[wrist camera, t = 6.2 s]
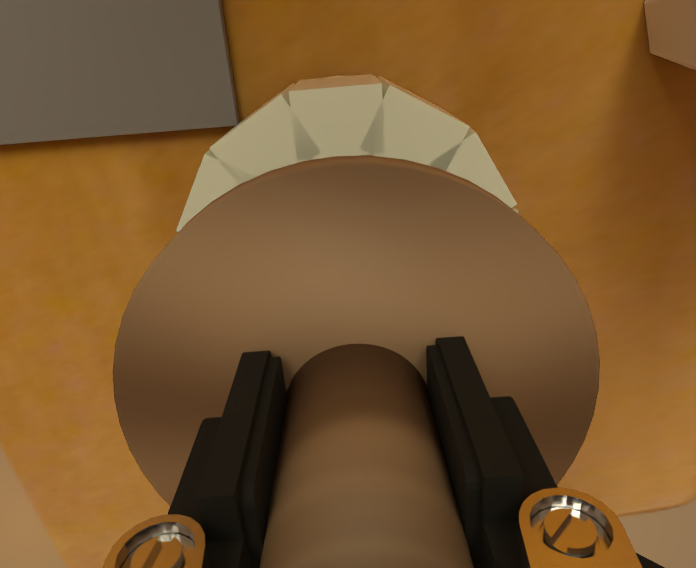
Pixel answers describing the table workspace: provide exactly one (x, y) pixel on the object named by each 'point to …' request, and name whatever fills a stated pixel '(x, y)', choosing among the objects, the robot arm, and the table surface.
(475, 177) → the bowl
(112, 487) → the table surface
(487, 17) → the table surface
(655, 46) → the low poly bottle
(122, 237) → the table surface
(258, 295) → the lid
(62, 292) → the table surface
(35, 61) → the mat
